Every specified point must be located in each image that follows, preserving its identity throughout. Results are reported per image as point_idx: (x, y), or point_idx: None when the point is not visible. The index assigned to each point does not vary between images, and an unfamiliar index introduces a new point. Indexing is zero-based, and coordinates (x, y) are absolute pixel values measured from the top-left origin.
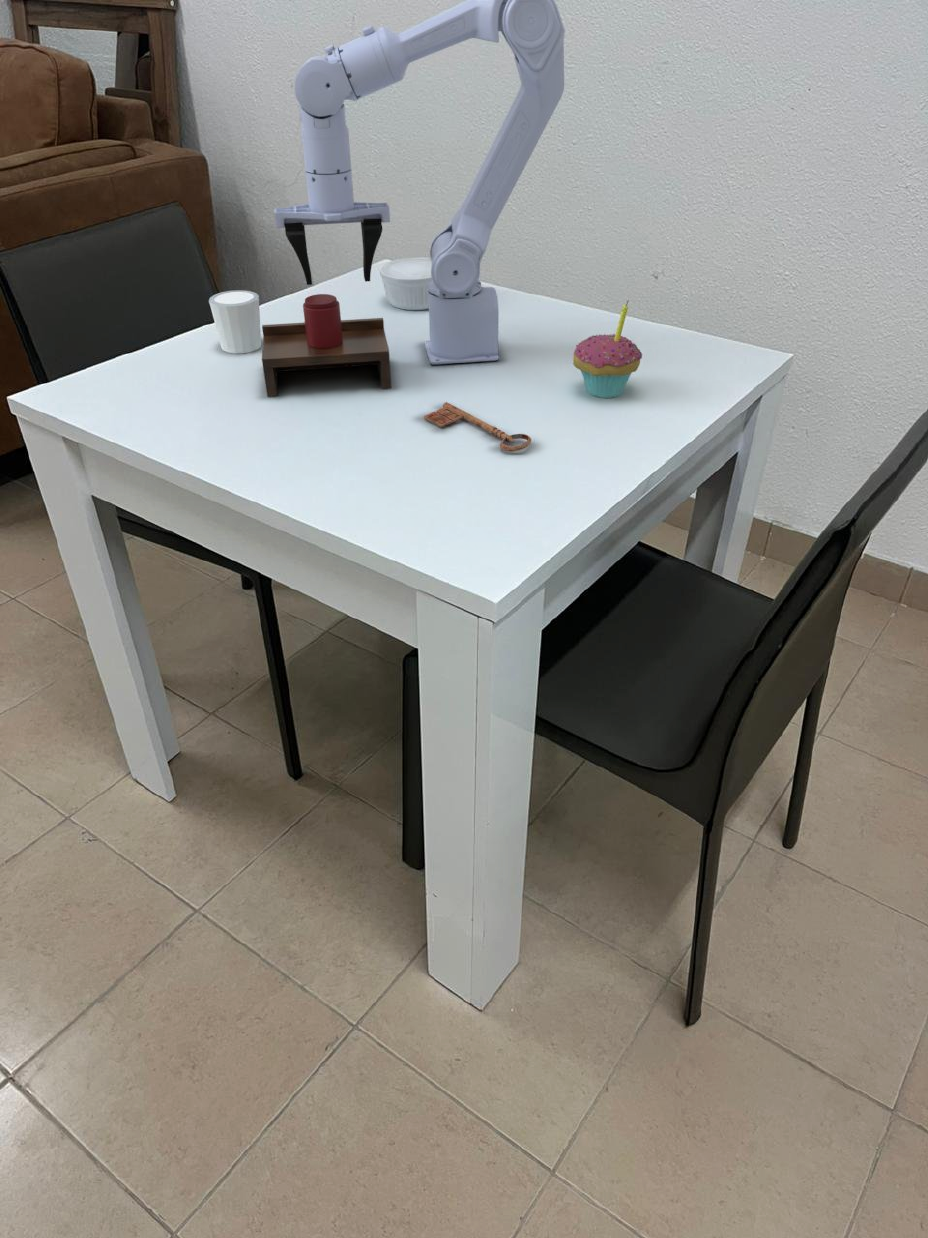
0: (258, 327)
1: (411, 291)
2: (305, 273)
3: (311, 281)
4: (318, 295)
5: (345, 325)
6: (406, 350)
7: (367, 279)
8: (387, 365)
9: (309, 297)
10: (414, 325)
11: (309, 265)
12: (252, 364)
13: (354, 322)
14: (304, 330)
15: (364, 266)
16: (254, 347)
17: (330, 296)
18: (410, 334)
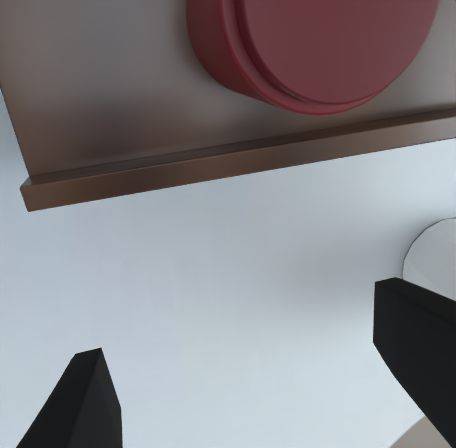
0: (436, 278)
1: None
2: (442, 296)
3: (386, 284)
4: (357, 73)
5: (189, 154)
6: (11, 254)
7: (84, 354)
8: None
9: (411, 33)
10: (28, 416)
11: (420, 388)
12: (428, 149)
13: (151, 162)
14: (342, 128)
15: (95, 423)
16: (422, 240)
17: (283, 49)
18: (26, 362)
